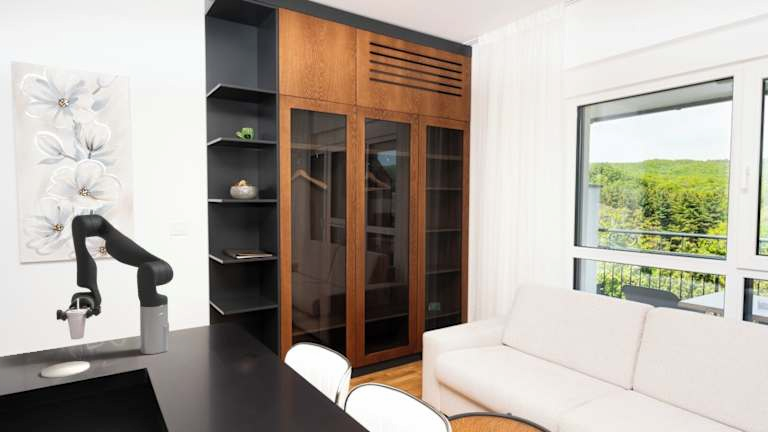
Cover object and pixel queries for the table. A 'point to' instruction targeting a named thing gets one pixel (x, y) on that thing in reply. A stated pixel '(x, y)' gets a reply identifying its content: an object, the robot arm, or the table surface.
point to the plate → (65, 369)
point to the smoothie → (76, 322)
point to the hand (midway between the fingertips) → (75, 316)
